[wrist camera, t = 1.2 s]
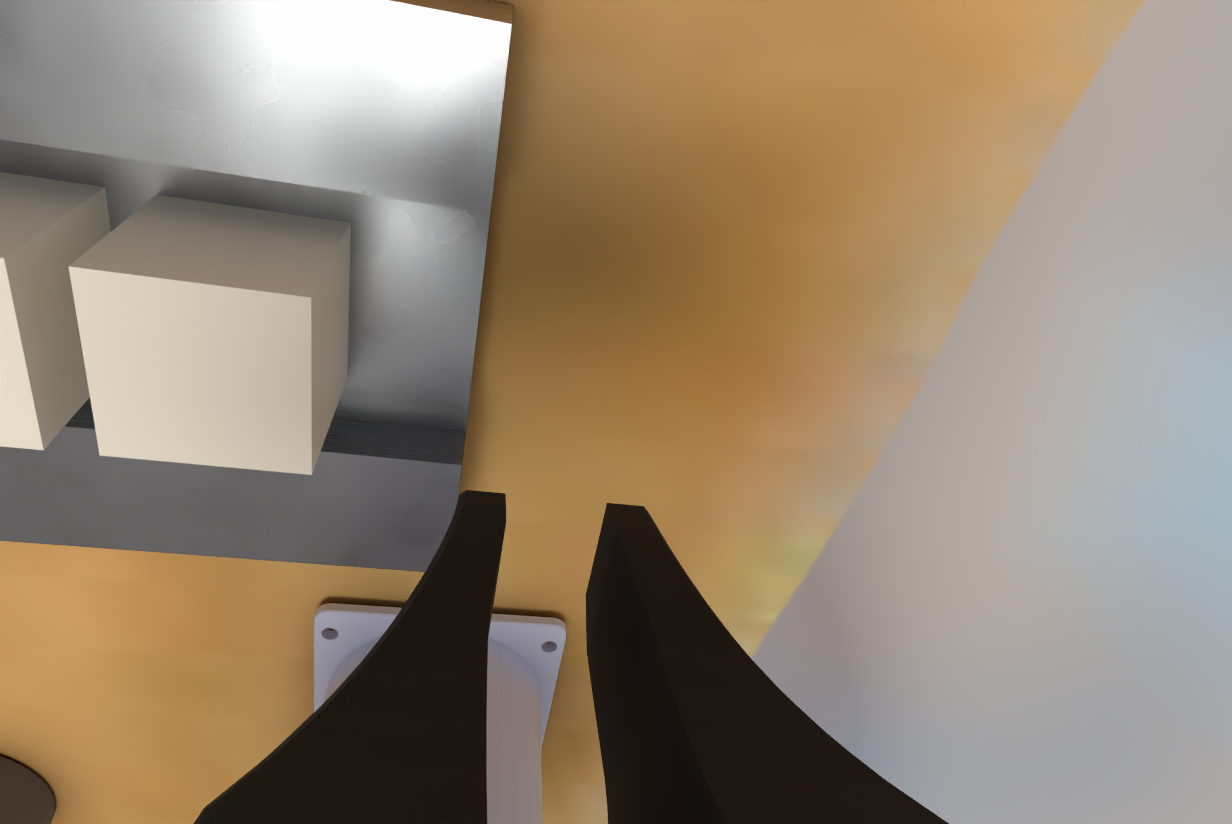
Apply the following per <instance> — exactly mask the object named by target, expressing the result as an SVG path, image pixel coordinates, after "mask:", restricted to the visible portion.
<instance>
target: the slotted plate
mask: <svg viewBox="0 0 1232 824" xmlns="http://www.w3.org/2000/svg"><path fill="white" fill-rule="evenodd" d="M513 7H514V5H510V4H505V3H500V2H495V1H490V0H0V172H5V173H12V174H18V175H25V176H32V177H39V178H46V179H53V180H60V181H67V182H74V183H80V184H87V185H94V186H101V187H105V189H106V196H107V204H108V211H109V219H110V226H111V231H112V230H114V229H115V228H116V227H117V226H119V225H120V224H121V223H122V222H123V221H125V220H126V219H127V218H128V217H130V216H131V215H132V214H133V213H134V212H136V211H137V210H138V209H139V208H141V207H142V206H143V205H144V204H145V203H147V202H148V201H149V200H150V199H152V198H153V197H154V196H155V195H163V196H170V197H177V198H184V199H190V200H197V201H204V202H211V203H218V204H225V205H232V206H239V207H246V208H252V209H259V210H266V211H273V212H280V213H287V214H294V215H301V216H307V217H314V218H321V219H328V220H335V221H342V222H349V223H351V237H350V281H349V324H348V368H347V380H346V383H345V386H344V388H343V391H342V394H341V397H340V399H339V402H338V405H337V408H336V410H335V413H334V416H333V418H332V421H331V424H330V427H329V429H328V432H327V435H326V438H325V440H324V443H323V446H322V448H321V451H320V454H319V457H318V459H317V462H316V465H315V468H314V470H313V473H312V475H307V474H296V473H285V472H274V471H263V470H252V469H241V468H230V467H220V466H209V465H198V464H187V463H176V462H165V461H154V460H144V459H133V458H122V457H111V456H100V455H99V449H98V442H97V436H96V430H95V424H94V418H93V412H92V406H91V400H90V397H89V398H88V400H87V401H86V402H85V403H84V404H83V405H82V407H81V408H80V409H79V410H78V411H77V412H76V413H75V415H74V416H73V417H72V418H71V419H70V420H69V422H68V423H67V424H66V425H65V426H64V427H63V429H62V430H61V431H60V432H59V433H58V434H57V435H56V437H55V438H54V439H53V440H52V441H51V442H50V444H49V445H48V446H47V447H46V448H45V449H44V450H35V449H24V448H13V447H2V446H0V541H12V542H26V543H40V544H53V545H67V546H80V547H94V548H107V549H121V550H135V551H148V552H162V553H175V554H189V555H202V556H216V557H230V558H243V559H257V560H270V561H284V562H297V563H311V564H325V565H338V566H352V567H365V568H379V569H392V570H406V571H420V572H426V570H427V568H428V566H429V564H430V563H431V561H432V559H433V557H434V555H435V554H436V552H437V550H438V548H439V546H440V544H441V542H442V540H443V538H444V536H445V534H446V532H447V530H448V527H449V525H450V523H451V520H452V518H453V515H454V512H455V509H456V506H457V502H458V496H459V487H460V478H461V470H462V461H463V451H464V442H465V433H466V424H467V416H468V407H469V398H470V389H471V380H472V371H473V362H474V354H475V345H476V336H477V327H478V318H479V309H480V300H481V291H482V283H483V274H484V265H485V256H486V247H487V238H488V229H489V220H490V212H491V204H492V195H493V186H494V177H495V168H496V159H497V150H498V142H499V133H500V124H501V115H502V106H503V97H504V88H505V79H506V71H507V62H508V53H509V44H510V35H511V26H512V17H513Z"/></svg>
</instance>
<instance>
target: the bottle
mask: <svg viewBox="0 0 1232 824" xmlns="http://www.w3.org/2000/svg"><path fill="white" fill-rule="evenodd" d="M54 812H55V799H54V797H53V794H52V792H51V790H50V788H49V787H48V786H47V784H46V783H45V782H44V781H43V780H41V779H40V778H39V777H38V776H37V775H36V774H34V773H33V772H32V771H30V770H29V769H27V768H26V767H24V766H22V765H20V764H18V763H16V762H14V761H12V760H10V759H7V758H4V757H1V756H0V824H51V821H52V818H53V815H54Z"/></svg>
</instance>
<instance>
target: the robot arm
mask: <svg viewBox="0 0 1232 824" xmlns="http://www.w3.org/2000/svg"><path fill="white" fill-rule="evenodd" d="M505 525H506V500H505V494H503V493H492V492H481V491H471V490H466V491H465V492H463V493H462V494H460V495H459V497H458V502H457V506H456V509H455V512H454V515H453V518H452V520H451V523H450V525H449V527H448V530H447V532H446V534H445V536H444V538H443V540H442V542H441V544H440V546H439V548H438V550H437V552H436V554H435V555H434V557H433V559H432V561H431V563H430V564H429V566H428V568H427V570H426V572H425V573H424V575H423V577H422V578H421V580H420V582H419V583H418V585H417V586H416V588H415V589H414V591H413V592H412V594H411V595H410V597H409V598H408V600H407V601H406V603H405V604H404V606H403V607H402V608H398V607H383V606H368V605H353V604H338V603H328V604H324V605H321V606H320V607H319V608H318V609H317V611H316V614H315V618H314V713H313V714H312V715H311V716H310V717H309V718H308V719H307V720H306V721H305V722H304V723H303V724H302V725H301V726H299V727H298V728H297V729H296V730H295V731H294V732H293V733H292V734H291V735H290V736H289V737H288V738H287V739H286V740H285V741H284V742H283V743H281V744H280V745H279V746H278V747H277V748H276V749H275V750H274V751H273V752H272V753H271V754H269V755H268V756H267V757H266V758H265V759H264V760H263V761H261V762H260V763H259V764H258V765H257V766H255V767H254V768H253V769H252V770H250V771H249V772H248V773H247V774H245V775H244V776H243V777H242V778H241V779H239V780H238V781H237V782H236V783H234V784H233V785H232V786H231V787H229V788H228V789H227V790H226V791H225V792H223V793H222V794H221V795H220V796H218V797H217V798H216V799H215V800H213V801H212V802H211V803H210V804H208V805H207V806H206V807H205V808H204V809H203V811H202V812H201V814H200V815H199V817H198V818H197V820H196V821H195V823H194V824H543V806H542V753H541V748H542V744H543V739H544V735H545V730H546V726H547V721H548V717H549V712H550V708H551V703H552V699H553V694H554V690H555V685H556V681H557V676H558V672H559V667H560V663H561V658H562V654H563V649H564V645H565V640H566V625H565V623H564V622H563V621H562V620H560V619H557V618H550V617H535V616H520V615H505V614H492V610H493V604H494V597H495V591H496V584H497V578H498V571H499V565H500V558H501V552H502V545H503V538H504V532H505ZM327 628H332V629H335V630H328V629H327ZM586 633H587V656H588V663H589V671H590V678H591V685H592V692H593V700H594V707H595V713H596V720H597V727H598V734H599V741H600V748H601V755H602V762H603V769H604V776H605V786H606V796H607V806H608V824H949V823H947V822H945V821H944V820H943V819H941V818H940V817H938V816H937V815H935V814H934V813H932V812H931V811H930V810H928V809H927V808H925V807H924V806H922V805H921V804H919V803H918V802H916V801H915V800H913V799H912V798H911V797H909V796H908V795H906V794H904V793H903V792H902V791H900V790H899V789H897V788H896V787H895V786H893V785H892V784H890V783H889V782H887V781H886V780H885V779H883V778H882V777H881V776H879V775H878V774H877V773H876V772H874V771H873V770H872V769H870V768H869V767H868V766H867V765H865V764H864V763H863V762H861V761H860V760H859V759H858V758H856V757H855V756H854V755H852V754H851V753H850V752H849V751H847V750H846V749H845V748H844V747H843V746H841V745H840V744H839V743H838V742H837V741H835V740H834V739H833V738H832V737H831V736H830V735H828V734H827V733H826V732H825V731H824V730H823V729H821V728H820V727H819V726H818V725H817V724H816V723H815V722H814V721H813V720H812V719H811V718H809V717H808V716H807V715H806V714H805V713H804V712H803V711H802V710H801V709H800V708H799V707H797V706H796V705H795V704H794V703H793V702H792V701H791V700H790V699H789V698H788V697H787V696H786V695H785V694H784V693H783V692H782V691H781V690H780V689H779V688H778V687H777V686H776V685H775V684H774V683H773V682H772V681H771V680H770V679H769V678H768V676H767V675H766V674H765V673H764V672H763V671H762V670H761V669H760V668H759V667H758V666H757V665H756V664H755V663H754V661H753V660H752V659H751V658H750V657H749V656H748V655H747V654H746V652H745V651H744V650H743V649H742V648H741V646H740V645H739V644H738V643H737V642H736V640H735V639H734V638H733V637H732V635H731V634H730V633H729V631H728V630H727V629H726V628H725V626H724V625H723V624H722V623H721V621H720V620H719V619H718V617H717V616H716V615H715V613H714V612H713V611H712V609H711V608H710V607H709V605H708V604H707V602H706V601H705V600H704V598H703V597H702V595H701V594H700V592H699V591H698V590H697V588H696V587H695V585H694V584H693V582H692V581H691V580H690V578H689V577H688V575H687V574H686V572H685V571H684V569H683V568H682V566H681V565H680V563H679V561H678V560H677V558H676V557H675V555H674V554H673V552H672V550H671V549H670V547H669V546H668V544H667V542H666V541H665V539H664V538H663V536H662V534H661V533H660V531H659V529H658V528H657V526H656V524H655V523H654V521H653V519H652V518H651V516H650V514H649V513H648V511H647V510H646V509H645V507H644V506H634V505H623V504H612V503H607V506H606V510H605V515H604V519H603V523H602V528H601V532H600V536H599V541H598V545H597V549H596V554H595V558H594V562H593V567H592V571H591V575H590V580H589V584H588V588H587V593H586ZM549 641H551V642H553V643H545V642H549Z"/></svg>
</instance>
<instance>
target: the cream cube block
mask: <svg viewBox="0 0 1232 824" xmlns="http://www.w3.org/2000/svg"><path fill="white" fill-rule="evenodd" d="M350 237H351V223H349V222H342V221H335V220H328V219H321V218H314V217H307V216H301V215H294V214H287V213H280V212H273V211H266V210H259V209H252V208H246V207H239V206H232V205H225V204H218V203H211V202H204V201H197V200H190V199H184V198H177V197H170V196H163V195H155V196H154V197H153V198H152V199H150V200H149V201H148V202H147V203H145V204H144V205H143V206H142V207H141V208H139V209H138V210H137V211H136V212H134V213H133V214H132V215H131V216H130V217H128V218H127V219H126V220H125V221H123V222H122V223H121V224H120V225H119V226H117V227H116V228H115V229H114V230H112V231H111V232H110V233H109V234H108V235H106V236H105V237H104V238H103V239H101V240H100V241H99V242H98V243H97V244H95V245H94V246H93V247H92V248H90V249H89V250H88V251H87V252H86V253H84V254H83V255H82V256H81V257H79V258H78V259H77V260H76V261H75V262H73V263H72V264H71V265H70V266H68V267H69V273H70V279H71V285H72V291H73V297H74V303H75V309H76V315H77V321H78V327H79V333H80V339H81V345H82V351H83V358H84V364H85V370H86V376H87V382H88V388H89V394H90V400H91V406H92V412H93V418H94V424H95V430H96V436H97V442H98V449H99V455H100V456H111V457H122V458H133V459H144V460H154V461H165V462H176V463H187V464H198V465H209V466H220V467H230V468H241V469H252V470H263V471H274V472H285V473H296V474H307V475H312V473H313V470H314V468H315V465H316V462H317V459H318V457H319V454H320V451H321V448H322V446H323V443H324V440H325V438H326V435H327V432H328V429H329V427H330V424H331V421H332V418H333V416H334V413H335V410H336V408H337V405H338V402H339V399H340V397H341V394H342V391H343V388H344V386H345V383H346V380H347V368H348V324H349V281H350Z"/></svg>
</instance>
